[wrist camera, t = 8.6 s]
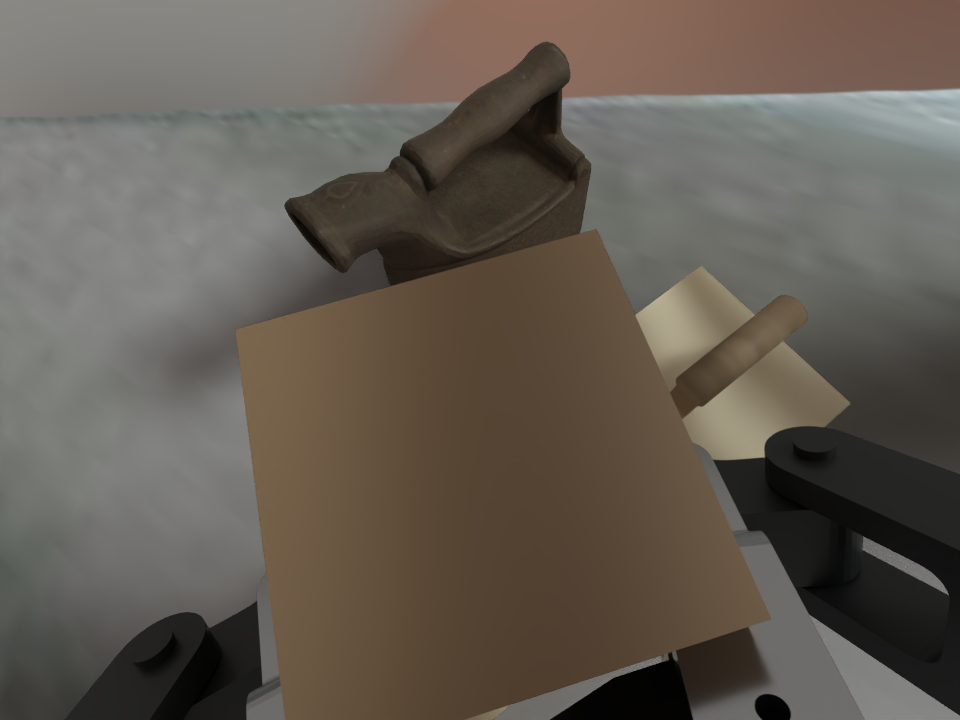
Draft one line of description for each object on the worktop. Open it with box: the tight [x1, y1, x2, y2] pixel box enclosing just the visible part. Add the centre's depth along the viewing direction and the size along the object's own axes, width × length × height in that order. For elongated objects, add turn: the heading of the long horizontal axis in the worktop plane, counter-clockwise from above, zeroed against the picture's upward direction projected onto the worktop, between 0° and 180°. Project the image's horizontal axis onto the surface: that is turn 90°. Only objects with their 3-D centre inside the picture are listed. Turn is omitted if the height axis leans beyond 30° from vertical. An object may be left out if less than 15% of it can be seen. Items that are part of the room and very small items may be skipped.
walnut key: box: [235, 229, 771, 720], centre depth 12 cm, size 4×4×16 cm
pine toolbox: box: [465, 266, 851, 720], centre depth 26 cm, size 24×10×10 cm, turn 127°
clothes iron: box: [284, 42, 591, 286], centre depth 30 cm, size 8×16×13 cm, turn 133°
